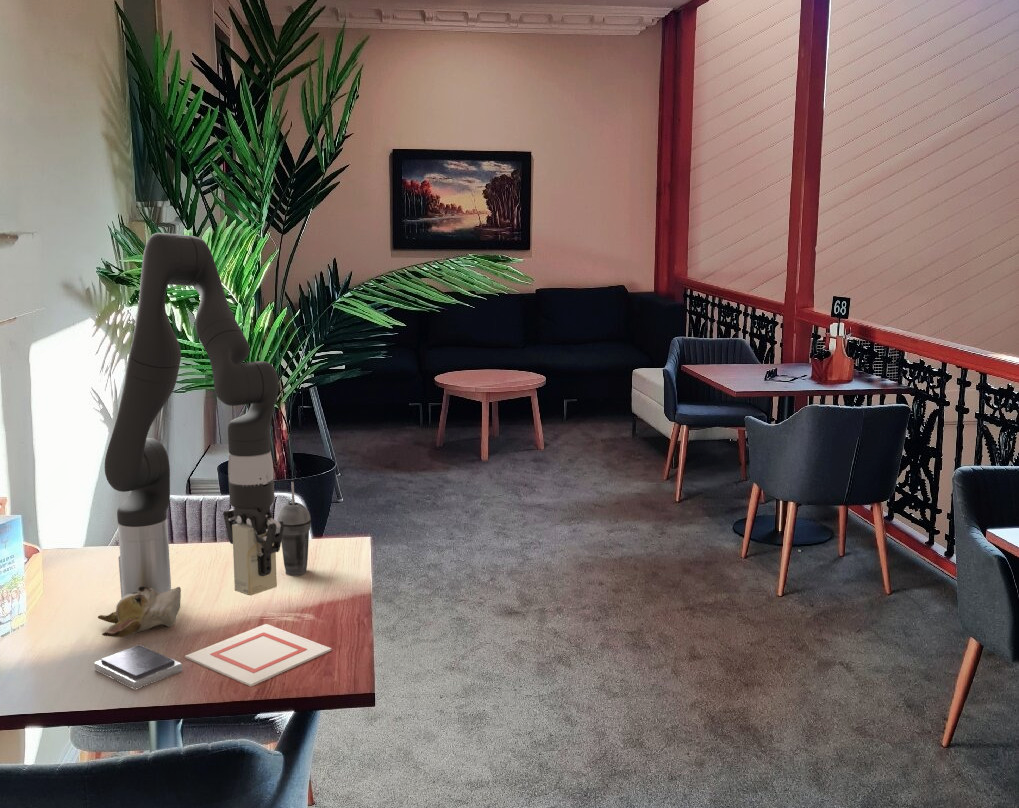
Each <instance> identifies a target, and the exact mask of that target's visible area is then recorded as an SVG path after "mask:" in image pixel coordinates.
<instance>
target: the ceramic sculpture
mask: <svg viewBox="0 0 1019 808" xmlns="http://www.w3.org/2000/svg"><path fill="white" fill-rule="evenodd" d="M181 591H182V589H181V586H177V587H175V588H171V590H168V591H166V592H164V593H156V592H155V591H154V590H153V589H152V588H148V587H139V589H138V592H135V593H132V594H127V595H125V596H124V597H123V598H122V599H120V600H119V602H117V604H116V611H112V612H111V613H110V614H108V615H106V614H103V615H102V614H100V615H98V616H97V619H99V620H101V621H104V622H107V623H111V624H112V626H110V628H109V629H108V630H107V631H105V632H103V633H102V634H101V636H104V637H111V638H124V637H128V636H129V635H132V634H134V633H139V632H144V631H146V630H148V629H150V628H153V627H155V626H160V625H163V626H166V627H168V628H171V627H173V626H174V624H175V622H176V620H177V616H178V613H179V611H180V608H181V598H182V594H181Z"/></svg>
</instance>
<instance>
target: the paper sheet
mask: <svg viewBox="0 0 1019 808" xmlns="http://www.w3.org/2000/svg"><path fill="white" fill-rule="evenodd" d="M331 651H332V648H331V647H329V646H326V645H323V644H322V643H321V644H320V643H318V642H316V641H313V640H310V639H307V638H305V637H302V636H300V635H298V634H294V633H292V632H289V631H286V630H284V629H281V628H279V627H276V626H273V625H271V624H268V623H264V624H262V625H259V626H256V627H254V628H252V629H250V630H247V631H245V632H242V633H239V634H237V635H234V636H231V637H229V638H227V639H224V640H221V641H219V642H217V643H214V644H211V645H209V646H207V647H204V648H201V649H199V650H196V651H194V652H192V653H189V654H186V655H184V657H185V659H187V660H190V661H191V662H193V663H196V664H198V665H200V666H202V667H205V668H207V669H209V670H212V671H214V672H217V673H219V674H221V675H223V676H225V677H228V678H230V679H232V680H234V681H237V682H240V683H242V684H244V685H245V686H249V687H253V686H255V685H256V686H257V685H258V684H260V683H262V682H265V681H267V680H269V679H271V678H274V677H276V676H277V675H280V674H282V673H284V672H287V671H289V670H291V669H293V668H295V667H298V666H300V665H302V664H304V663H307V662H309V661H311V660H313V659H315V658H316V659H317V658H318V657H320V656H322V655H325V654H327V653H329V652H331Z"/></svg>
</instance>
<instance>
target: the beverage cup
mask: <svg viewBox="0 0 1019 808" xmlns="http://www.w3.org/2000/svg"><path fill="white" fill-rule="evenodd" d="M290 485H291V502H290V503H287V504H285V505H284V506H283V507H282V508H280V511H279V513H278V516H277V522H279V521H283V523H284V529H283V534H282V540H281V551H282V560H283V565H284V570H285V574H286V575H287V576H293V577H295V576H298V577H299V576H302V575H305V574H306V573H307V572H308V571H307V569H308V559H309V539H310V530H311V524H312V523H311V522H312V519H311V514H310V511H309V510H308V509H307V507H306V506H305V505H304V504H302V503H299V502H296V501H295V485H294V481H291V484H290Z"/></svg>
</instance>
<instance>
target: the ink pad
mask: <svg viewBox="0 0 1019 808" xmlns="http://www.w3.org/2000/svg"><path fill="white" fill-rule="evenodd" d="M93 666H94V670H95V669H96V670H98V671H100V672H102V673H104V674H106V675H108V676H111V677H112V678H114V679H116V680H118V681H120V682H122V683H124V684H126V685H128V686H130V687H133V688H134V689H136V688H139V687H141V686H144V685H146V684H149V683H151V682H154V681H156V682H158V681H157V680H159V681H161V680H163V678H164V679H166V678H168V677H171V676H174V675H176V674H178V673H180V672H182V671H183V669H182V668H183V666H182V662H179V661H177V660H175V659H174V658H173V659H172V658H170V657H168V656H167V655H163V654H161V653H159V652H157V651H155V650H152V649H150V648H148V647H145V646H143V645H141V644H137V645H135V646H133V647H130V648H126V649H124V650H122V651H119V652H116V653H114V654H111V655H108V656H106V657H103V658H100V660H97V661H95V662H94V665H93ZM100 672H99V673H100ZM102 673H101V674H102ZM104 674H103V675H104ZM106 675H105V676H106ZM108 676H107V677H108ZM165 677H166V678H165ZM112 678H111V679H112ZM114 679H113V680H114ZM160 679H161V680H160ZM116 680H115V681H116ZM118 681H117V682H118ZM120 682H119V683H120ZM122 683H121V684H122ZM154 683H155V682H154ZM124 684H123V685H124ZM151 684H152V683H151ZM126 685H125V686H126ZM149 685H150V684H149ZM128 686H127V687H128ZM146 686H147V685H146ZM130 687H129V688H130ZM144 687H145V686H144ZM141 688H142V687H141ZM134 689H133V690H134ZM139 689H140V688H139Z"/></svg>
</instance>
